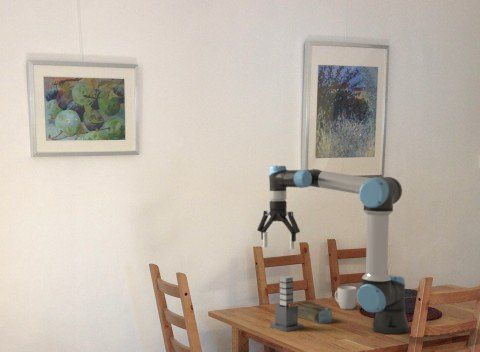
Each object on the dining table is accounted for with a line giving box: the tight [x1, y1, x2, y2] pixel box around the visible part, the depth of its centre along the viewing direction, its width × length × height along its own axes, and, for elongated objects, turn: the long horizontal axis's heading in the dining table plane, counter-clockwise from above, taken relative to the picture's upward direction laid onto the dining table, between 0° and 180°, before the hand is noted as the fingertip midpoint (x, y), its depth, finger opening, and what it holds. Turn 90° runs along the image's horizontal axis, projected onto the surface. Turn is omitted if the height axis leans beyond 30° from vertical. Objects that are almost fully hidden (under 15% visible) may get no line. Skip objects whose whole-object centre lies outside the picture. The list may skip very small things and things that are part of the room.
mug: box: [334, 285, 358, 310], centre depth 346 cm, size 13×9×10 cm
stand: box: [269, 302, 304, 332], centre depth 308 cm, size 10×10×11 cm
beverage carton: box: [293, 300, 333, 325], centre depth 324 cm, size 8×19×7 cm, turn 31°
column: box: [278, 275, 294, 307], centre depth 307 cm, size 4×4×20 cm
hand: (278, 248), depth 319 cm, fingers open, 13 cm apart
